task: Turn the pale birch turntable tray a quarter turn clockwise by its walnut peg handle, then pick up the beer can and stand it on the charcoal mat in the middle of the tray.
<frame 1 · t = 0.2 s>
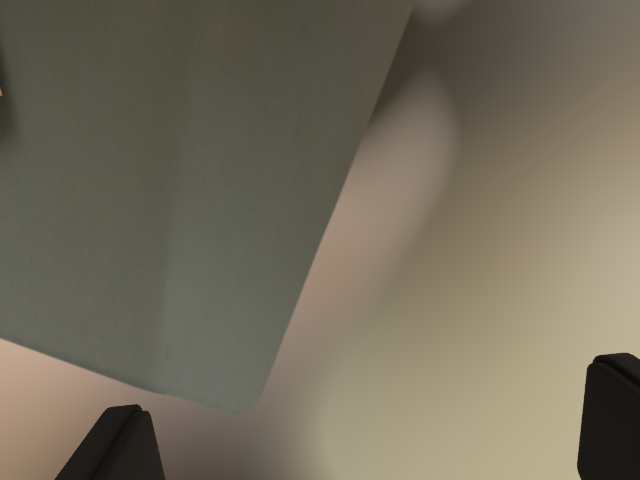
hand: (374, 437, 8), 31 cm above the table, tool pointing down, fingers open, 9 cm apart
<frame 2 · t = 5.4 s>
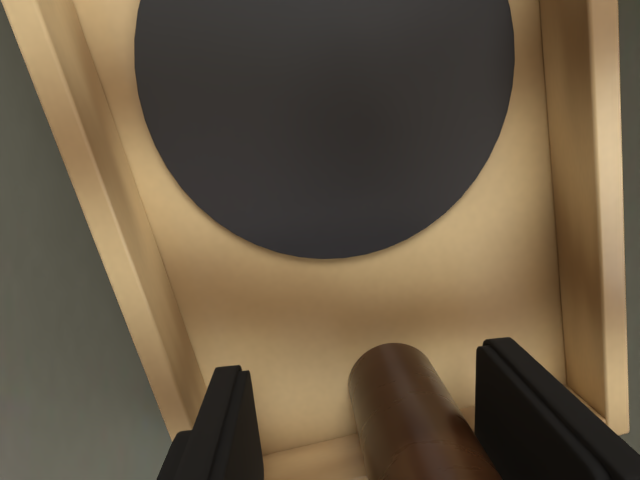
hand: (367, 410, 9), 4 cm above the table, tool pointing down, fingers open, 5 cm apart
tray: (345, 43, 6), point 5 cm above the table, hinge at -4.9°, touching gripper
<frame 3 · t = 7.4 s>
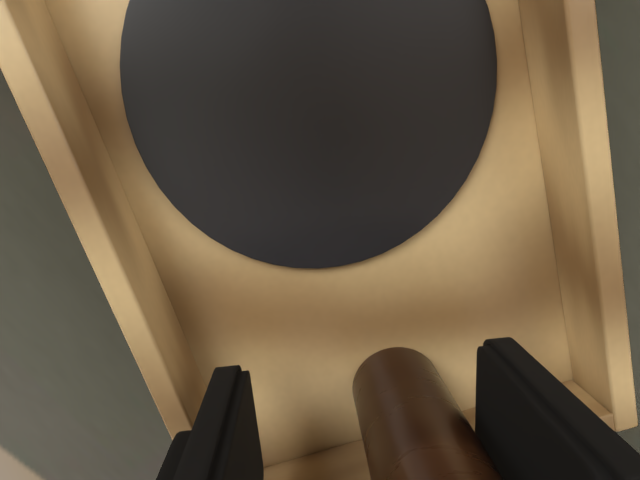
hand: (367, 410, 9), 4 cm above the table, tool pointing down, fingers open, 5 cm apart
tray: (319, 61, 6), point 5 cm above the table, hinge at -47.8°, touching gripper
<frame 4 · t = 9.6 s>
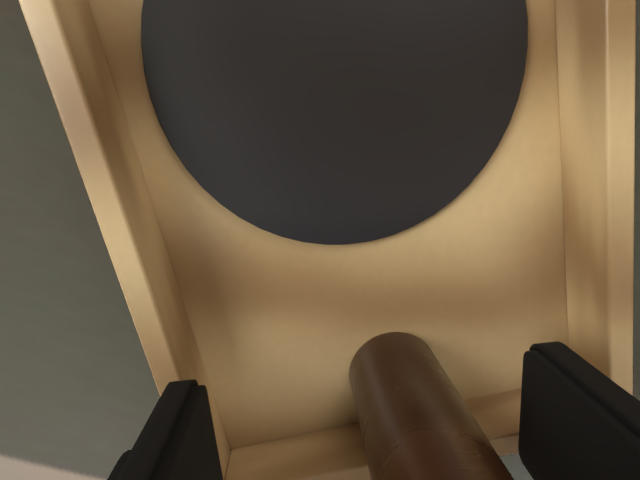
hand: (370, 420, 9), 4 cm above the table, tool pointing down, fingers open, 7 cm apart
tray: (359, 16, 6), point 5 cm above the table, hinge at -83.3°
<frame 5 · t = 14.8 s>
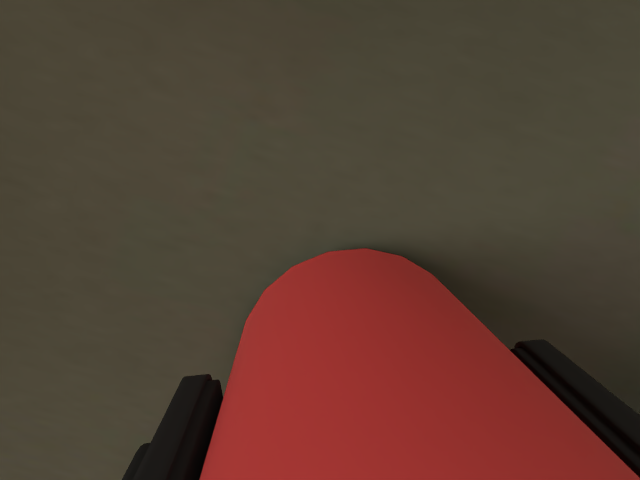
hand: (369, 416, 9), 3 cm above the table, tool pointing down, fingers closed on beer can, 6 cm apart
beer can: (349, 342, 12), on the table, touching gripper
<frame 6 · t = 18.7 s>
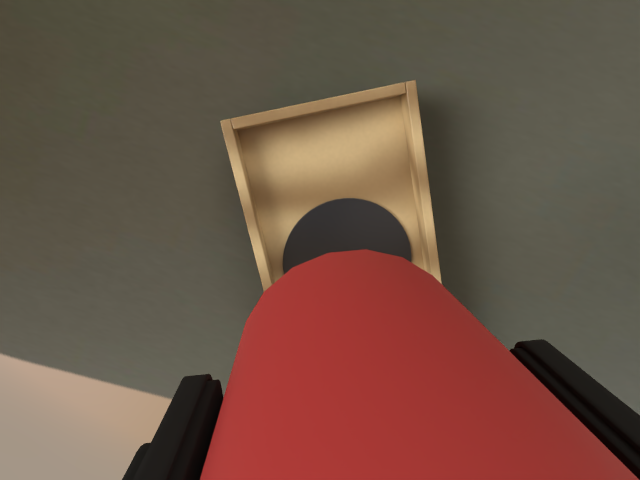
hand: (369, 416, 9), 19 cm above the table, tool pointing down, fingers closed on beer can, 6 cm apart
tray: (353, 277, 22), point 5 cm above the table, hinge at -83.3°
beer can: (350, 343, 12), point 15 cm above the table, touching gripper
when the fingers open (6 cm above the table, at t = 22.8 s): beer can stays where it is, resting on tray.
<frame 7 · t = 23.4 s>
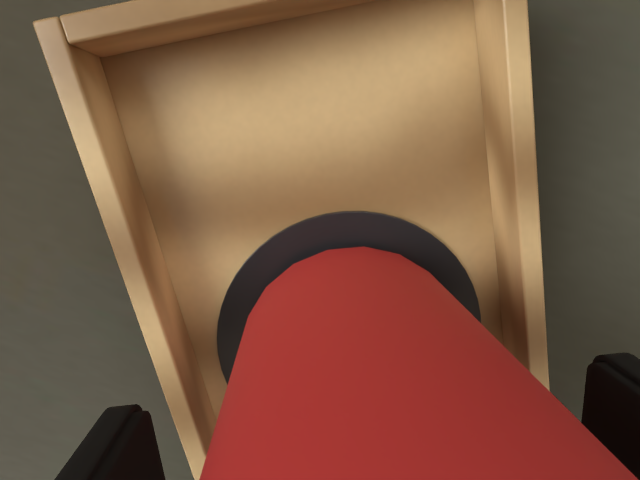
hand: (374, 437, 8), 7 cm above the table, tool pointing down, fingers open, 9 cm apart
tray: (366, 401, 9), point 5 cm above the table, hinge at -83.3°, touching beer can
beer can: (349, 338, 12), point 2 cm above the table, touching tray
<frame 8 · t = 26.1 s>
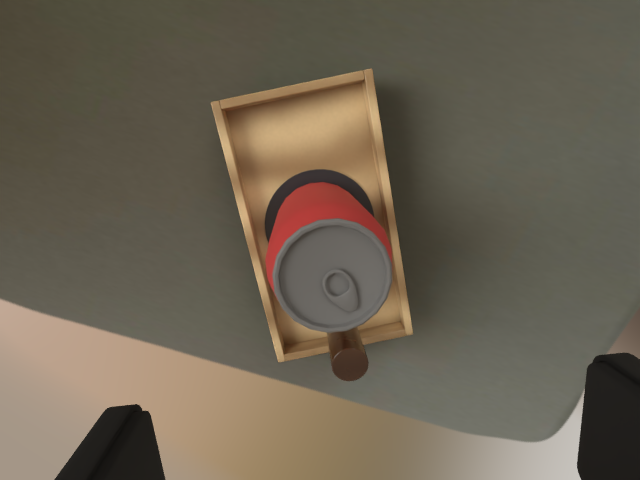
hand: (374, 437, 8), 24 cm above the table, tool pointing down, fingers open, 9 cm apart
tray: (322, 233, 26), point 5 cm above the table, hinge at -83.3°, touching beer can
beer can: (319, 224, 29), point 2 cm above the table, touching tray
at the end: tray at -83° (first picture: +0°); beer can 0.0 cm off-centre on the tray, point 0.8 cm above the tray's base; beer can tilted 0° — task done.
